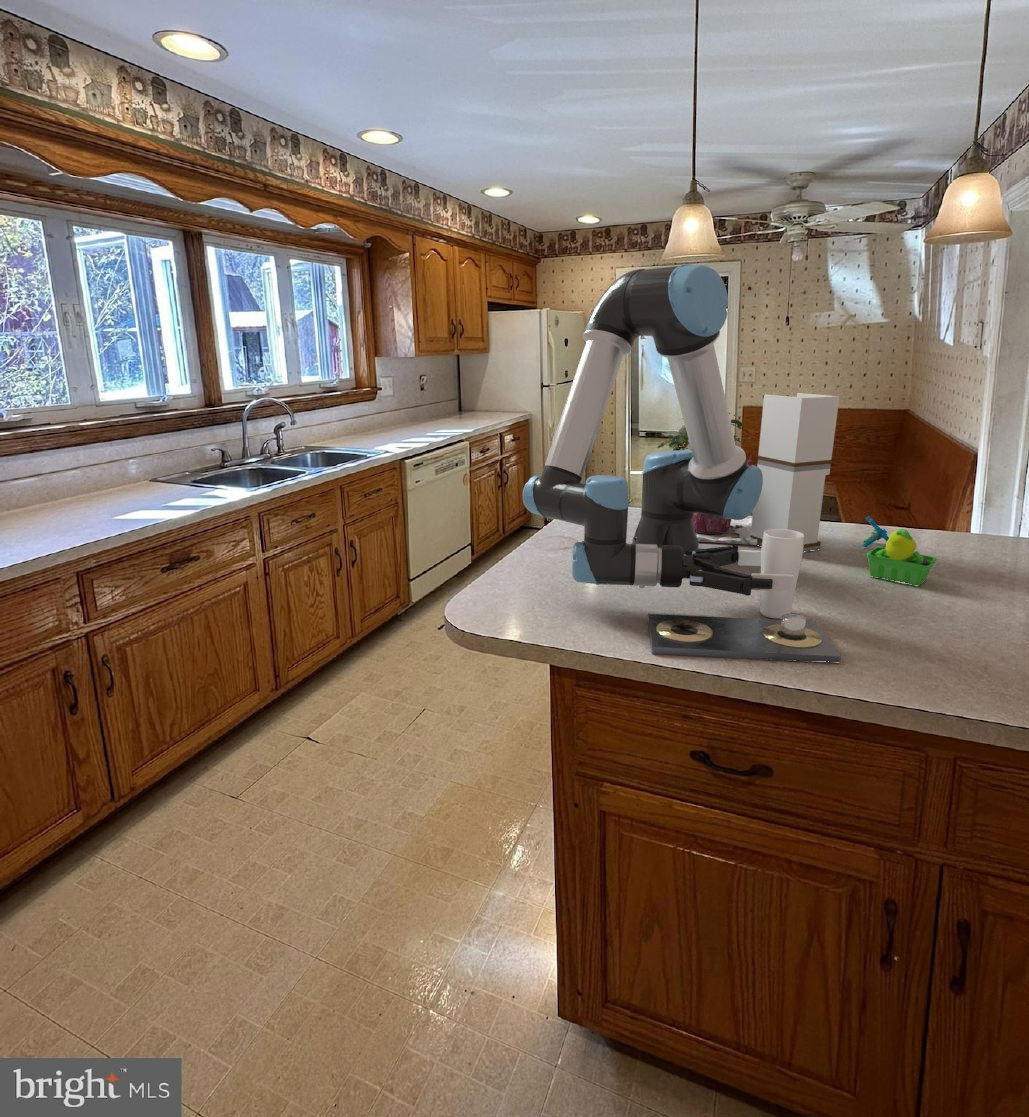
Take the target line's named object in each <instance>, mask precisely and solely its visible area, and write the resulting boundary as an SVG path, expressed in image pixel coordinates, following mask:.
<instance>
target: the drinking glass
mask: <svg viewBox="0 0 1029 1117" xmlns="http://www.w3.org/2000/svg"><path fill="white" fill-rule="evenodd" d="M803 548H804V534H802V533H800V532H798V531H794V530H788V529H770V530H766V531H764V534H763V540H762V547H760V549H761V550H760V551H761V566H760V574H785V575H793V584H792V592H787V591H763V590H760V591H759V592H760V595H759V596H760V599H759V612H760V614H761V615H762V616H764V617H766V618H769V619H774V620H782V615H784V614H792V609H793V603H794V597H795V594H796V589H797V588H796V587H797V583H798V579H799V574H800V570H801V566H802V562H803V555H804V553H803Z"/></svg>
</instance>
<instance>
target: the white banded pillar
mask: <svg viewBox="0 0 1029 1117" xmlns="http://www.w3.org/2000/svg"><path fill="white" fill-rule="evenodd" d="M796 394H797V395H796V396H790V395H789V396H786V395H778V394H764V395H763V401H762V402H763V403H762V414H761V415H762V416H761V424H760V425H761V426H760V435H759V443H758V444H759V445H758V455H757V465H756V467H758V468H760V469H761V471H762V475H763V485H762V490H761V494H760V497H759V500H758V502H757V504H756V506H755V508H754V509H753V511H752V514H751V515H752V516H751V518H752V526H751V536H750V537H751V538H753V539H757V545H759V546H762V540H763V534H764V531H766V530H770V529H788V530H794V531H798V532H800V533H802V534H804V548H803V552H804V551H810V550H818V549H820V550H821V543H822V542H821V540H818V538H819V531H820V530H819V529H820V522H821V515H822V514H821V513H822V506H823V500H824V499H823V498H824V489H825V481H826V476H829V475H830V473H831V467H832V466H831V465H832V458H833V449H834V442H835V436H836V434H835V433H836V427H837V426H836V425H837V419H838V411H839V403H840V396H838V395H828V394H815V393H805V392H797V393H796ZM759 546H758V547H759Z"/></svg>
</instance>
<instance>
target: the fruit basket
mask: <svg viewBox="0 0 1029 1117" xmlns="http://www.w3.org/2000/svg"><path fill="white" fill-rule="evenodd" d="M888 537H889V539H888V541H886V545H885V547H881V546H877V547H875V548H873V549H872V550H870V551H868V552H866V558H867V561H868V567H869V568H868V569H869V576H873V577H878V578H885V579H888V580H894V581H900V582H905V583H909V584H912V585H919V586H921V585H922V584H923V583H924V582H925V581H926V579H927V577H928V575H929V573H930V571H931V569H932V567H933V565H934V564H935V563H936V561H937V558H936V557H935V556H931V555H924V554H921V553H920V552H919V551H916V548H917V543H916V541H915V539H914V538H913V536H911V534H910V532H909V531H908V530H907V529H905V528H901V529H898V530H897V529H896V530H895V531H893V532H892V533H891V534H890V535H889V536H888ZM924 580H925V581H924ZM923 581H924V582H923ZM922 582H923V583H922ZM921 583H922V584H921ZM920 584H921V585H920Z"/></svg>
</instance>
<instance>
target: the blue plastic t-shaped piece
mask: <svg viewBox="0 0 1029 1117" xmlns="http://www.w3.org/2000/svg"><path fill="white" fill-rule="evenodd" d="M865 520H866V521H867V522H868V523H869V524H870V525H871V526H872V528H873V529H872V532H870V534H871V535H870V536H868V537H867V538H865V539H864V540H863V544H862V547H866V548H868V547H869V546H870V545H871V544H874V543H875V542H876V541H877V542H878V541H880V540H881V539H884V541H885V542H887V541H888V539H889V537H890V536H888V534H887V533H888V531H887V530H886V529H885V528H882V527H880V526H879V525H878V524H877V523H876V522H875V521H874V520H873V519H872V518H871V517H870V516H867V517H866V518H865ZM864 541H865V542H864Z"/></svg>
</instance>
